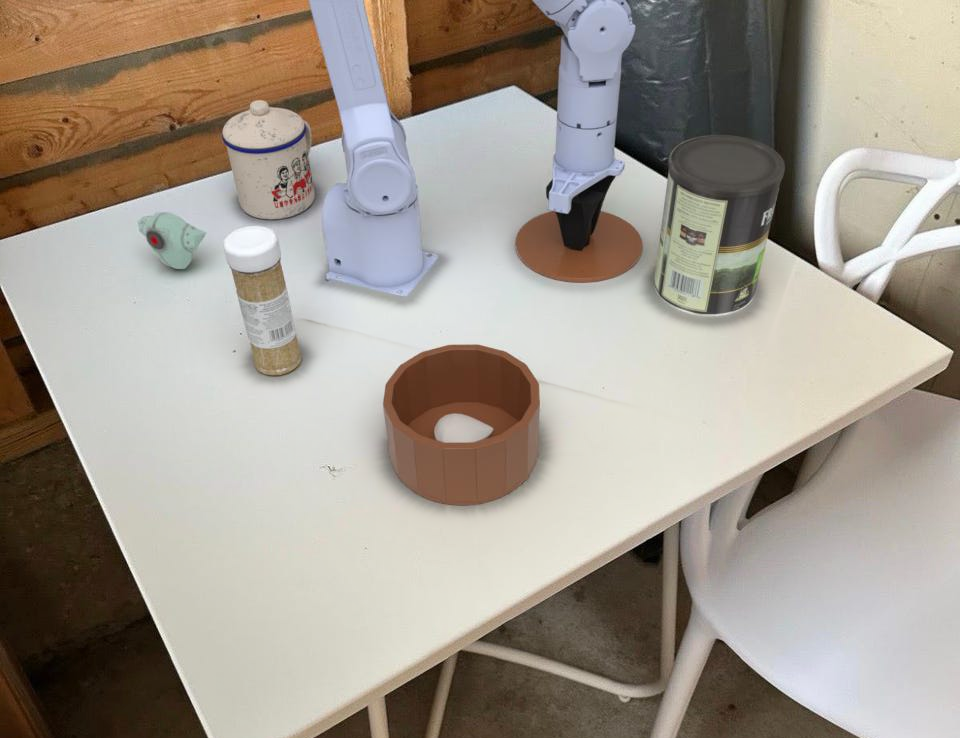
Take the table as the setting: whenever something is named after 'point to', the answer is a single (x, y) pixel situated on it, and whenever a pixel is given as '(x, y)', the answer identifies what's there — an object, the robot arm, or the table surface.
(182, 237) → the robot head
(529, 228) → the lid
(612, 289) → the table surface
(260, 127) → the teacup with lid
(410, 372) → the tin
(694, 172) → the coffee can
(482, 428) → the white teardrop
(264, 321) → the spice jar
